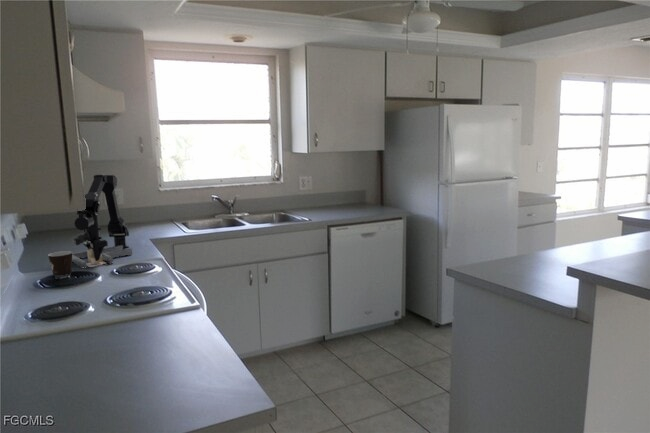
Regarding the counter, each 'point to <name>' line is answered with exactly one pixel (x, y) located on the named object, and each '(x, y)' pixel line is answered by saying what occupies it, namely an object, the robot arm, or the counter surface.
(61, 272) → the coffee mug
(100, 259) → the maple block
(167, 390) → the counter surface
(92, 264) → the pad
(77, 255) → the channel
